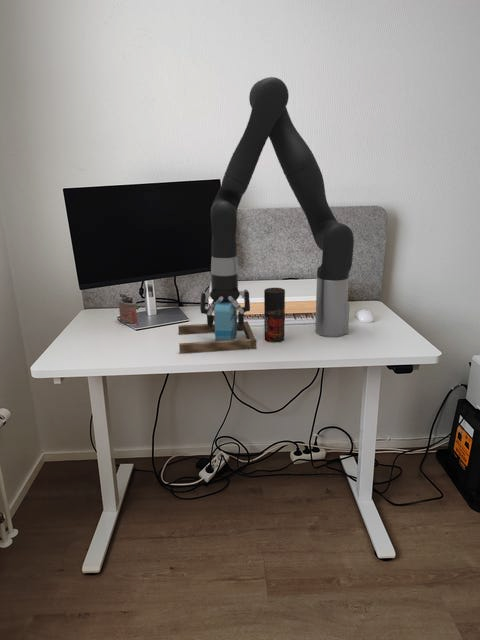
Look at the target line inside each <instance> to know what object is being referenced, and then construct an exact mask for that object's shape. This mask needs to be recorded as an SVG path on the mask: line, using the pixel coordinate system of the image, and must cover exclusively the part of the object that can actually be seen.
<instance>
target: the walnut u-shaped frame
mask: <svg viewBox="0 0 480 640" xmlns="http://www.w3.org/2000/svg"><path fill="white" fill-rule="evenodd" d="M212 326H213V327H210V325H209V326H208V324H207V323H197V324H194V323H193V324H183V325H181V324H179V325H178V326H177V328H178V335H181V336H182V335H197V334H212V333H213V334H215V322H212ZM237 332H243V334H244V335H245V337H246V338H245V339H244V338H243V339H242V338H241V339H234V340H225V341H215V340H213V341H197V342H196V341H195V342H194V341H193V342H180V343H178V346H179V354H181V355H182V354H195V353H199V354H200V353H210V352H211V353H212V352H227V351H243V350H256V349H257V339H256V337H255V334H254V332H253V330H252V328H251V326H250V324H249V322H248V321H247V320H246V321H244V323H243V324H242V326H239V324H238V321H237Z"/></svg>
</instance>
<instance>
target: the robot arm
mask: <svg viewBox="0 0 480 640" xmlns="http://www.w3.org/2000/svg"><path fill="white" fill-rule="evenodd" d="M289 96H290V95H289V89H288V87H287V85H286V84H285V82H284V81H283V80H282V79H280V78H278V77H273V76H269V77H264V78H262V79H260V80H258V81H257V82H255V83H254V84H253V85H252V87H251V88H250V92H249V96H248V99H249V105H250V108H251V110H250V111H251V112H250V115H249V119H248V122H247V124H246V128H245V130H244V132H243V133H242V136H241V138H240V140H239V142H238V144H237V145H236V147H235V149H234V151H233V153H232V156H231V157H230V160H229V162H228V164H227V166H226V170H225V172H224V174H223V175H224V176H223V177H222V181H221V184H220V187H219V189H218V191H217V194H216V195H215V198H214V200H213V202H212V204H211V208H210V223H211V224H210V225H211V260H210V261H211V263H210V274H211V291H210V292H206V291H201V292H200V313H201V314H205V315H206V324H208V326H209V325H210V327H213V326H212V323H213V314H214V308H215V305H216V304H217V303H224V302H231V303H233V305H234V306H235V308H236V309H237V313H238V314H237V322H238V324H239V326H242V324H243V323H244V322H245V321H244V320H245V319H244V318H245V313H246V312H251V301H250V292H249V291H248V289H244V290H240V291H239V275H238V274H239V267H238V266H239V265H238V257H237V256H238V255H237V253H238V252H237V251H238V249H237V248H238V247H237V246H238V245H237V235H236V234H237V224H238V223H237V222H238V221H237V220H238V219H237V218H238V213H237V211H238V208H239V206H240V203H241V201H242V198H243V195H245V193H246V191H247V190H248V187H249V185H250V183H251V180H252V177H253V175H254V172H255V170H256V167H257V164H258V162H259V160H260V158H261V154H262V152H263V150H264V148H265V145H266V142H267V140H268V138H269V140H270V143H271V145H272V148H273V151H274V153H275V155H276V158H277V161H278V163H279V164H280V167H281V169H282V172H283V174H284V176H285V179H286V180H287V183H288V185H289V187H290V189H291V190H292V192H293V195H294V196H295V198H296V201H297V202H298V203H299V206H300V208H301V210H302V211H303V214H304V215H305V217H306V220H307V223H308V226H309V228H310V231H311V235H312V238H313V239H314V242H315V245H316V246H317V247H318V249H320V250H321V251H322V257H321V264H320V265H319V266H317V270H316V297H315V298H316V300H315V327H314V328H315V329H314V330H315V332H314V333H316V334H318V335H319V336H321V337H329V338H332V337H333V338H335V337H341V336H343V335H349V326H350V325H349V323H350V303H349V302H348V295H349V277H350V276H349V275H350V271H351V269H352V266H353V256H354V244H355V239H354V238H355V237H354V234H353V230H352V229H351V228H350V227H349V226H348V225H347V224H345V223H341V222H339V221H338V220H337V219H336V217H335V215H334V213H333V212H332V210H331V208H330V206H329V203H328V201H327V195H326V189H325V188H326V187H325V182H324V178H323V173H322V171H321V169H320V166H319V164H318V162H317V159H316V157H315V155H314V153H313V152H312V150H311V148H310V147H309V146H308V144H307V142H306V141H305V140H304V138H303V137H302V136H301V134H300V133H299V132H298V130H297V128H296V127H295V126H294V124H293V121H292V119H291V117H290V113H289V112H288V109H287V105H288V103H289ZM240 296H241V299H243V300H244V306H241V304H240V303H239V302H238V301H236V300H238V298H240ZM209 298H211V299H212V302H210V305H209V307H207V308H206V301H207V300H209Z"/></svg>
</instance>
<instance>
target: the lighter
mask: <svg viewBox="0 0 480 640" xmlns="http://www.w3.org/2000/svg"><path fill="white" fill-rule="evenodd" d="M119 297H120V298H119V299H118V300H117V303H118V308H119V311H118V312H119V323H121V324H122V325H125V326H127V325H126V324H137V323H138V324H139V322H138V315H137V314H138V313H137V302H136V301H134V299H133V298H134V297H133V295H131V294H130V293H124V292H120V293H119Z"/></svg>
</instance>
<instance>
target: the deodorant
mask: <svg viewBox="0 0 480 640" xmlns="http://www.w3.org/2000/svg"><path fill="white" fill-rule="evenodd" d="M263 292H264V293H263V294H264V295H263V296H264V297H263V300H264V302H263V303H264V305H263V307H264V308H263V309H264V310H263V311H264V313H263V314H264V316H263V319H264V322H263V323H264V324H263V325H264V329H263V330H264V332H263V333H264V335H263V336H264V337H263V338H264V339H263V340H264V341H265V342H267V343H271V344H277V343H278V344H279V343H282V342H284V341H285V334H286V333H285V330H286V329H285V328H286V327H285V320H286V319H285V318H286V316H285V315H286V313H285V312H286V311H285V309H286V308H285V307H286V301H285V299H286V290H285V288H283V287H268V288H265V289H264V291H263Z"/></svg>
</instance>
